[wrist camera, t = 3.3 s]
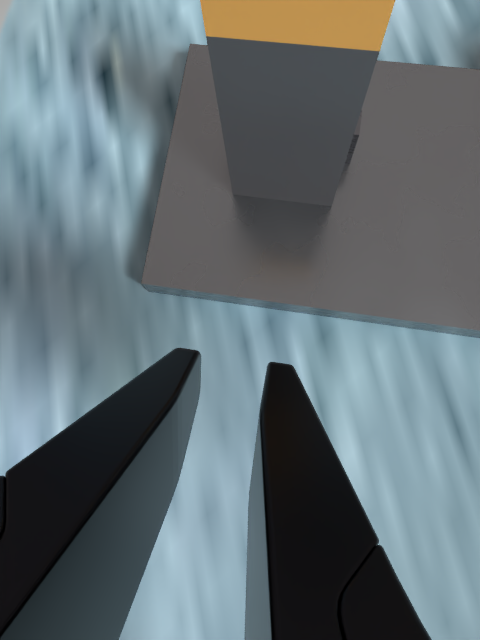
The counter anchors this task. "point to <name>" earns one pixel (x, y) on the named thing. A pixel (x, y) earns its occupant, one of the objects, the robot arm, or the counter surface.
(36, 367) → the counter surface
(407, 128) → the breaker strip
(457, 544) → the counter surface
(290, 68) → the block
